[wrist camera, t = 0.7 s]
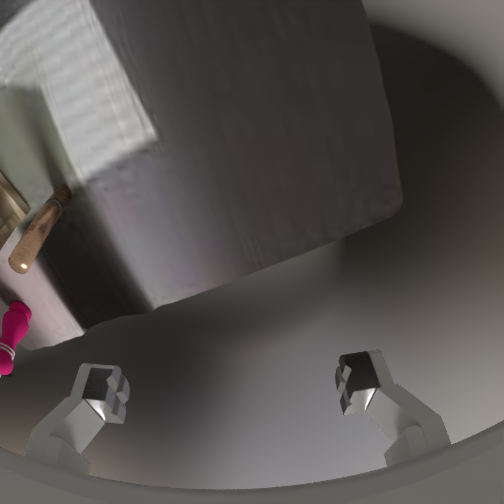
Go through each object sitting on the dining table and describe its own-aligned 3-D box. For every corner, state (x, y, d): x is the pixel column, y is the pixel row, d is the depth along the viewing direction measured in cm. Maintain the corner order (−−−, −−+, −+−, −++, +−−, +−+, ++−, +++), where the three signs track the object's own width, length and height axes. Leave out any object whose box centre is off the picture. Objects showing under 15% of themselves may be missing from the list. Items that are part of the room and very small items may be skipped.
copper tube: (51, 192, 44) (4, 261, 30) (63, 182, 44) (15, 250, 30) (63, 206, 46) (20, 277, 32) (75, 196, 46) (32, 267, 32)
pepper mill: (27, 301, 59) (1, 372, 43) (37, 320, 63) (15, 389, 48) (5, 298, 57) (-23, 365, 42) (15, 317, 62) (-8, 382, 46)
